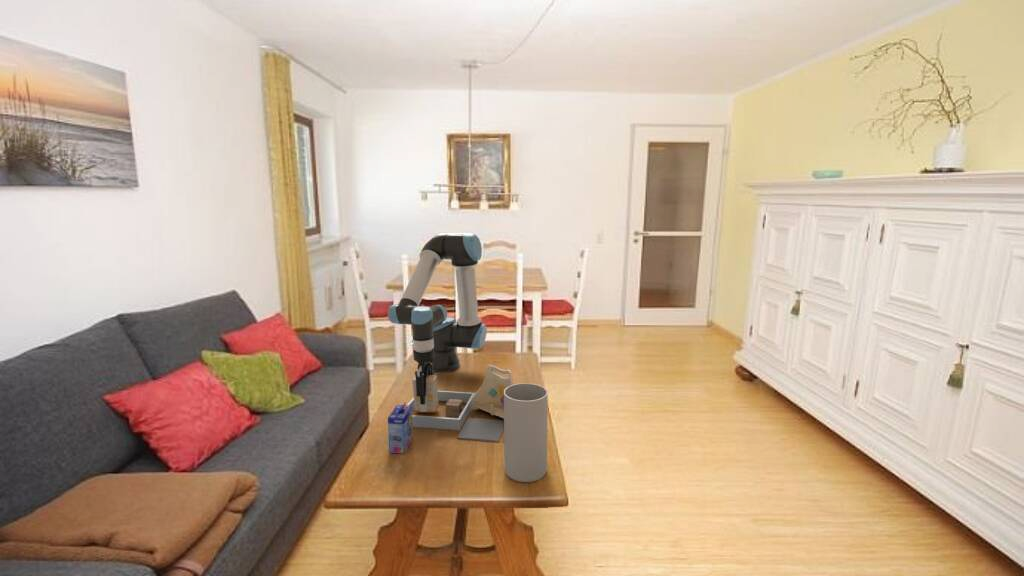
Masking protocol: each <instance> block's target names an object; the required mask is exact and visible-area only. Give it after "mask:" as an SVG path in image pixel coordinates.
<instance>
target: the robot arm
mask: <svg viewBox="0 0 1024 576" xmlns="http://www.w3.org/2000/svg"><path fill="white" fill-rule="evenodd" d="M482 255H483V247H482V243H481V240H480V238H479V237H478V235H477V234H475V233H468V232H456V233H455V232H443V233H438V234H437V235H434V236H433V237H432V238H431V239H430V240H428V241H427V242H426V243H425V245H424V246H423V247H422V249H421V250H420V253H419V261H418V262H417V265H416V266H415V268H414V272H413V273H412V275H411V278H410V280H409V282H408V284H407V286H406V287H405V290H404V292H403V294H402V297H401V298H400V300H399V302H398V303H395V304H392V305H390V306H389V307H388V312H387V318H388V320H389V321H390V323H392V324H396V325H397V324H398V325H409V326H410V325H411V330H412V331H411V332H412V333H411V334H412V340H411V343H412V347H413V348H412V349H413V352H412V353H413V355H412V356H413V360H414V361H415V362H416V363H418V364H417V370H415V372H414V377H415V376H416V392H417V394H416V395H417V396H419V400H420V412H419V413H428V412H427V411H428V406H427V395H426V378H427V377H428V376H430V375H434V372H438V373H440V372H441V373H445V372H451V371H455V370H457V369H459V368H460V366H461V365H460V364H461V363H460V359H459V356H458V353H457V350H456V349H457V348H463V349H470V350H473V349H476V350H478V349H481V348H482V347H483V346H484V344H485V342H486V339H487V338H486V337H487V331H488V330H487V329H488V328H487V325H486V324H485V323H482V321H483V320H482V317H480V316H479V313H478V312H479V311H478V309H479V308H478V295H477V282H476V281H477V278H476V266H477V265H478V264H479V263H478V262H479V261H480V260H481V258H482ZM443 260H449V261H451V266H452V267H453V268H454V269H455V279H456V291H457V306H458V316H459V317H458V318H457V320H456V319H455V318H454V317H448V310H447V309H446V308H445V306H444V305H441V304H435V305H434V304H433V305H431V306H428V305H427V306H424V305H423V306H422V305H420V303H421V302H422V300H423V297H424V295H425V292H426V290H427V288H428V286H429V284H430V281H431V279H432V276H433V274H434V272H435V270H436V268H437V266H440V264H441V262H442V261H443Z"/></svg>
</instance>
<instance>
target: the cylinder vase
mask: <svg viewBox="0 0 1024 576" xmlns="http://www.w3.org/2000/svg"><path fill="white" fill-rule="evenodd" d="M548 393H549V392H548V389H547V388H545V387H544V386H543V385H539V384H536V383H529V382H528V383H525V382H523V383H522V382H521V383H515V384H514V383H513V385H511V386H509V387H507V388H506V389H505V390H504V418H503V421H504V428H503V435H504V437H503V439H504V440H503V441H504V442H503V443H504V445H503V446H504V447H503V448H504V451H503V453H504V455H503V456H504V461H503V462H504V463H503V464H504V465H503V466H504V473H505V474H506V476H507V477H508V478H509V479H511V480H513V481H516V482H519V483H532V482H537V481H539V480H541V479H543V477H544V476H545V475H546V473H547V470H548V462H547V461H548V402H549V401H548V398H549V397H548Z"/></svg>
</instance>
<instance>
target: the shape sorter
mask: <svg viewBox="0 0 1024 576" xmlns="http://www.w3.org/2000/svg"><path fill="white" fill-rule="evenodd" d="M494 371H495V372H494ZM498 373H499V374H498ZM500 374H502V375H508V377H503V376H502V375H500ZM513 381H514V379H513V374H512V371H511V370H510V369H502V368H499V367H498V366H495V365H493V364H492V365H491V364H490V365H488V366H487V367H486V370H485V373H484V379H483V382H482V384H481V386H480V387H479V389H477V391H476V392H474V393H475V395H474V399H473V408H472V409H473V410H474V411H477V410H481V411H485V412H487V413H489V414H490V415H491V416H497V417H498V418H502V419H504V390H505V389H506V388H507V387H509V386H511V385H514V382H513Z"/></svg>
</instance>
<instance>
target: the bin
mask: <svg viewBox="0 0 1024 576" xmlns="http://www.w3.org/2000/svg"><path fill="white" fill-rule="evenodd" d="M437 391H438V402H448V401H449V399H456V400H462V404H463V403H465V404H466V405H465V406H464V408H463V411H462V413H461V415H460V416H459V418H449V417H446V416H445V417H444V416H443V417H441V416H428V415H417V414H416V415H415V414H412V428H423V429H437V430H449V431H450V430H453V431H461V430H462V428H463V426H464V425H465V423H466V421H467V419H468V418H469V415H470V413H471V411H472V409H473V399H474V395H475V393H476V392H465V391H464V392H463V391H452V390H451V391H449V390H437ZM406 405H410V406H412V412H413V411H415V409H414V396H413V397H412V398H411V400H410V401H409V402H408V403H406Z"/></svg>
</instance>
